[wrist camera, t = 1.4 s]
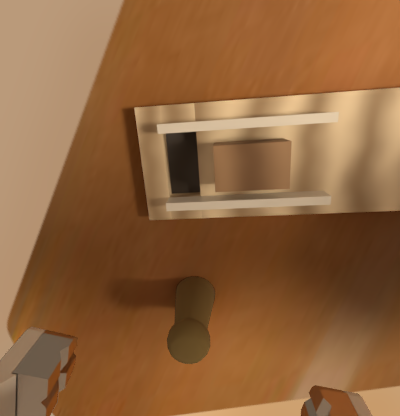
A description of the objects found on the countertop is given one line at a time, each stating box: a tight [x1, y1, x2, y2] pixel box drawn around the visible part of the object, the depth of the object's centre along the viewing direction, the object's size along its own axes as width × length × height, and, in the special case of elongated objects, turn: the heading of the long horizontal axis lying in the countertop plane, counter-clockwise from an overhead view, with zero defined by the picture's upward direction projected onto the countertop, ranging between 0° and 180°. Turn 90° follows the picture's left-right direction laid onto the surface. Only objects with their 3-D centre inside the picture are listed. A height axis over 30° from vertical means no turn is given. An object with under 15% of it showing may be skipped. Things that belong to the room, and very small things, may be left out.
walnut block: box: [213, 138, 292, 192], centre depth 31 cm, size 8×5×4 cm, turn 94°
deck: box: [134, 88, 400, 220], centre depth 33 cm, size 34×14×2 cm, turn 94°
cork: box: [167, 276, 215, 364], centre depth 36 cm, size 6×6×11 cm
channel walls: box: [157, 112, 339, 211], centre depth 31 cm, size 19×10×2 cm, turn 94°
